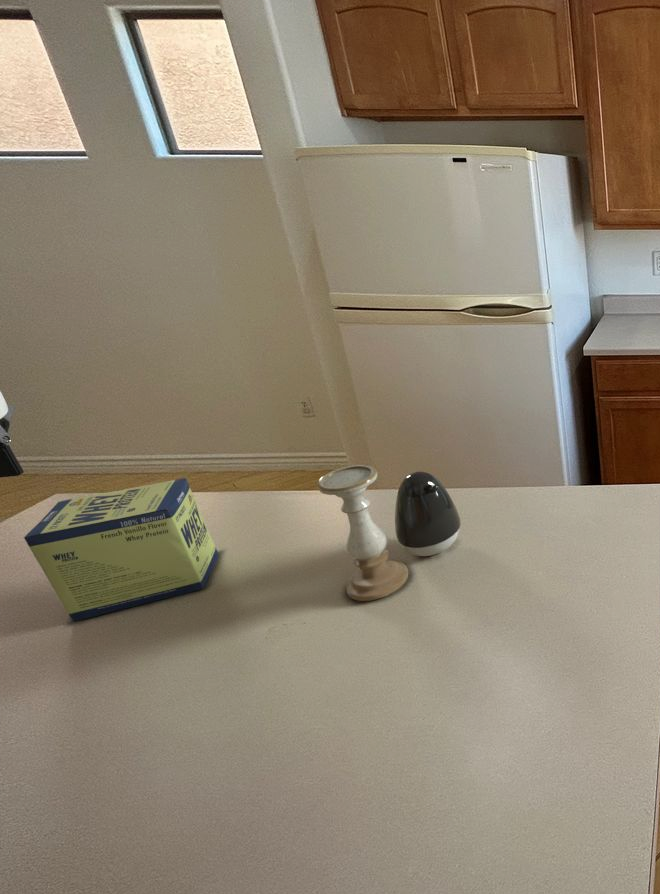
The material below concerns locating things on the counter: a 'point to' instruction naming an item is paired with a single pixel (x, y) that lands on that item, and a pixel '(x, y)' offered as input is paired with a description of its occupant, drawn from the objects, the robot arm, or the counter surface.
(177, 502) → the protein box
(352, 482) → the candle holder
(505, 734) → the counter surface
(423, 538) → the dark grey egg shape
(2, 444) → the robot arm
